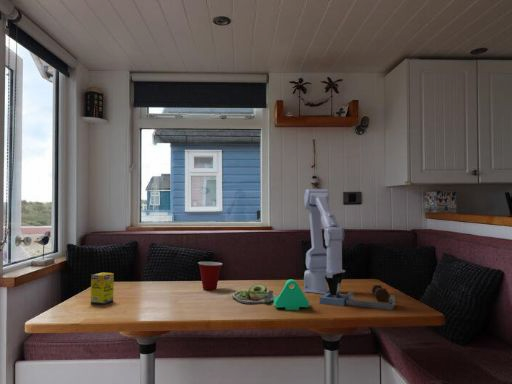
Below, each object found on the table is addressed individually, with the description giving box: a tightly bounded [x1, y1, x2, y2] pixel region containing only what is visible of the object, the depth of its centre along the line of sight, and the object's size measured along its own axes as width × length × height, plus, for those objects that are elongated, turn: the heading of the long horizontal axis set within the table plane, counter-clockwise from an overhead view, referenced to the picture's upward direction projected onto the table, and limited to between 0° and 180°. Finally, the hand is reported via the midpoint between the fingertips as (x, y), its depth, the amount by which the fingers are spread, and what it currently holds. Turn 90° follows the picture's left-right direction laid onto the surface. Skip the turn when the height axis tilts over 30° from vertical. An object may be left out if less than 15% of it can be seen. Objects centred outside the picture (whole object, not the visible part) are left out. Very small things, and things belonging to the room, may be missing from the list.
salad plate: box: [232, 283, 278, 305], centre depth 153 cm, size 19×18×5 cm
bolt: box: [371, 284, 391, 303], centre depth 156 cm, size 6×5×15 cm
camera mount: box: [273, 279, 310, 311], centre depth 141 cm, size 12×8×10 cm, turn 93°
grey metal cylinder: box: [331, 283, 341, 298], centre depth 148 cm, size 3×3×6 cm
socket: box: [319, 292, 347, 307], centre depth 148 cm, size 9×9×2 cm
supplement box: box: [90, 272, 115, 306], centre depth 147 cm, size 6×6×11 cm
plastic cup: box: [197, 261, 223, 292], centre depth 171 cm, size 11×11×12 cm
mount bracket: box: [345, 290, 396, 311], centre depth 144 cm, size 16×8×4 cm, turn 64°
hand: (334, 293), depth 148 cm, fingers closed on grey metal cylinder, 3 cm apart
